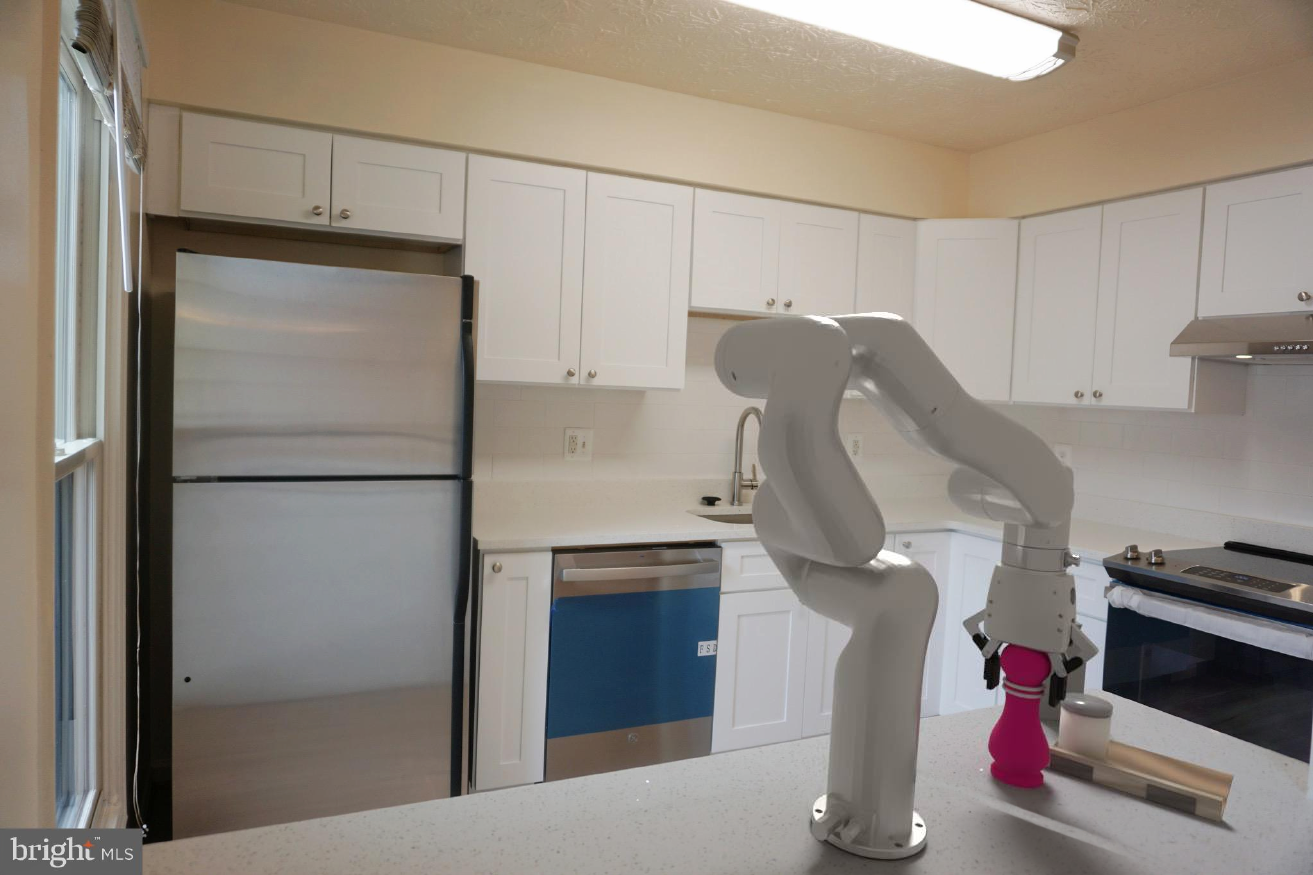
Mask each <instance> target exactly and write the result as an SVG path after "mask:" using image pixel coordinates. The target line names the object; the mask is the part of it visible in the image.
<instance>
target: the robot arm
mask: <svg viewBox="0 0 1313 875" xmlns="http://www.w3.org/2000/svg"><path fill="white" fill-rule="evenodd" d="M713 364H714V370H715V373H716V375H717V379H719V381H720V383H721V384H722V385H723V387H724V388H726V389H727V390H728V391H730V392H731V393H732V394H734V395H736V396H739V397H742V398H746V399H755V400H757V399H759V400H766V403H765V406H764V409H763V414H762V417H761V422H760V426H759V431H758V435H757V436H758V438H757V458H758V462H759V464H760V465H759V466H760V467H761V469H762V472H763V473H764V476H765V477H766V478H765V479H764V480H763V481H762V482H761V483H760V484H759V486H758V487H757V489H756V491H755V493H754V496H753V500H752V504H751V505H752V506H751V517H752V518H751V519H752V524H753V529H754V532H755V535H756V537H757V539H758V541H759V542H760V544H761V546H762V548H763V549H764V551H765V552H766V554H767V555H768V557H769V558H770V559H771V561H772V563H773V564H774V565H775V568H776V569H777V570H778V572H779V573H780V575H781V577H783V579H784V580H785V582H786V583H787V585H788V586H789V589H791V591H792V593H794V595H795V596H796V598H797V599H799V601H800V602H801V603H802V604H803V605H804V606H805V607H806V608H808V609H809V611H813V612H814V613H816V614H818V615H820V616H822V617H825V618H827V619H829V620H832V621H834V622H837V623H839V624H842V625H844V626H845V627H847V628H850V629H851V636H850V638H849V640H848V641H847V643H846V644H845V646H844V647H843V649H842V650H841V652H840V654H839V656H838V657H837V660H836V664H835V667H834V674H833V683H832V684H833V685H832V686H833V688H832V690H833V691H832V692H833V693H832V705H831V706H832V707H831V708H832V709H831V719H830V720H831V722H830V736H829V739H830V740H829V752H828V764H827V765H828V768H827V785H826V794H823V795H821V796H820V797H818V798H817V799H816V800H815V802H814V803H813V804H812V807H811V815H810V816H811V823H812V824H811V830H810V831H811V833H812V835H813V836H814V838H815V839H817V840H819V841H825V840H826V841H827V842H829V843H830V844H832V845H834V846H836V847H837V848H839V849H841V850H844V851H846V852H848V853H851V854H854V855H858V856H861V857H865V858H866V857H867V858H871V859H879V860H896V859H897V860H898V859H902V858H907V857H911V856H913V855H915V854H917V853H919V852H920V851H921V850H922V849H923V848H925V845H926V843H927V835H928V828H927V825H926V823H925V822H924V820H923V818H922V817H921V816H920V815H919V813H917V812H916V811H915V810H914V809H915V808H914V807H915V805H914V804H915V796H916V795H915V793H916V782H917V781H916V779H917V766H918V752H919V751H918V750H919V740H920V738H919V737H920V726H921V713H922V699H923V698H922V695H923V682H924V673H925V672H924V670H925V664H926V658H927V657H926V656H927V651H928V646H929V642H930V639H931V634H932V632H933V628H934V624H935V622H936V618H937V615H938V610H939V603H940V599H939V598H940V596H939V589H938V585H937V582H936V580H935V578H934V576H933V575H932V574H931V573H930V571H929V570H928V569H927V568H926V567H925V566H924V565H922V564H921V563H919V562H918V561H917V560H915V559H913V558H911V557H909V556H906V555H904V554H901V553H898V552H895V551H890V550H886V549H883V548H884V544H885V542H886V534H887V533H886V531H887V530H886V529H887V528H886V525H885V520H884V517H883V515H882V513H881V510H880V508H879V505H878V503H877V502H876V500H875V498H874V497H873V495H872V492H871V491H870V489H869V488H868V486H867V485H866V482H865V481H864V480H863V478H862V476H861V474H860V472H859V471H858V469H857V468H856V466H855V463H854V462H853V460H852V459H851V457H850V456H849V453H848V452H847V450H846V447H845V445H844V443H843V441H842V439H841V435H840V432H839V417H840V411H841V406H842V403H843V398H844V395H845V391H847V390H848V391H857V392H859V393H860V394H862V395H863V396H864V397H865V398H866V399H867V400H868V401H869V402H870V403H871V405H873V407H875V408H876V409H877V411H879V413H880V414H881V415H882V416H883V417H884V418H885V419H886V420H887V421H888V423H889V424H890V425H891V426H892V428H894V429H895V430H896V431H897V433H898V434H899V435H900V436H901V437H902V438H903V439H904V441H906V443H908V444H909V445H911V446H912V447H914V448H915V449H917V450H919V451H921V452H924V453H925V454H927V455H929V456H932V457H935V458H937V459H939V460H942V461H945V462H948V463H951V464H954V465H956V466H955V467H954V469H952V471H951V473H950V475H949V477H948V480H947V485H946V486H947V487H946V488H947V494H948V497H949V500H950V502H951V503H952V505H954V507H955V508H957V509H958V510H959V511H961V512H962V513H964V514H965V515H969V516H970V517H971V516H972V517H975V518H980V519H984V520H989V521H993V522H994V521H995V522H1002V523H1003V532H1002V533H1003V534H1002V545H1001V556H1000V561H998V562H997V563H995V565H994V568H993V572H992V575H991V579H990V582H989V587H988V592H987V596H986V603H985V608H983V609H982V610H980V611H978V612H976V613H975V614H972V615H971V616H970V617H968V618H966V619H964V620H963V622H962V625H963V627H964V628H965V630H966V632H967V634H969V636H971V637H970V638H971V640H972V642H973V643H974V645H976V647H977V649H979V651H980V652H981V655H982V657H983V659H984V663H983V664H984V665H983V676H982V677H983V680H984V681H986V685H985V690H989V691H992V690H994V689H995V688H997V687H998V686H999V685H1000V680H1001V679H1000V678H1001V670H1002V668H1001V665H1000V656H1001V654H999V650H1000V649H1001V647H1002V646H1003V644H1007V645H1008V644H1011V645H1015V646H1019V647H1023V648H1028V649H1032V650H1036V651H1041V652H1045V653H1048V655H1049V657H1050V660H1051V662H1052V665H1053V667H1054V669H1055V670H1054V673H1053V674H1052V675H1051V678H1050V690H1049V702H1048V705H1050V707H1054V708H1055V707H1056V706H1057V705H1058V704H1059V703H1060V701H1061V700H1062V701H1064V700H1065V698H1066V689H1067V677H1068V674H1069V673H1071V672H1072V671H1074V670H1076V669H1077V668H1079V667H1081V666H1082V665H1083V664H1085V663H1086V664H1087V663H1088V662H1089V661H1090V660H1092V659H1093V658H1094V657H1095V656H1097V655H1098V654H1099V653H1100V652H1099V651H1100V650H1099V648H1098V647H1097V646H1096V644H1094V643H1093V642H1092V641H1091V639H1090V638H1089V637H1088V636H1087V635H1086V634H1085V633H1084V632H1083V631H1082V629H1081V630H1080V629H1079V628H1078V627H1077V626H1076V621H1077V591H1076V583H1075V576H1074V573H1073V572H1071V571H1068V570H1067V569H1069V568H1070V567H1080V564H1081V556H1080V555H1075V554H1074V553H1072V552H1071V551H1070V550H1071V548H1070V547H1069V545H1070V544H1069V542H1070V532H1071V531H1070V530H1071V520H1072V519H1071V518H1072V511H1073V508H1074V503H1075V489H1074V482H1075V481H1074V479H1075V475H1074V471H1073V469H1072V467H1071V466H1070V465H1068V464H1066V463H1063V462H1061V460H1060V459H1059V458H1058V456H1057V455H1056V454H1055V452H1054V451H1053V450H1052V449H1051V448H1050V446H1049V445H1048V444H1047V443H1046V442H1045V441H1044V440H1043V439H1042V438H1041V437H1040V436H1039V435H1037V434H1036V433H1035V432H1033V431H1032V430H1030V428H1028V427H1026V426H1024V425H1023V424H1021V423H1020V422H1018V421H1016V420H1015V419H1013V418H1011V417H1009V416H1007V415H1005V414H1004V413H1003V412H1001V411H999V410H997V409H996V408H994V407H993V406H991V405H989V404H988V403H986V402H984V401H982V400H980V399H978V398H976V397H974V396H972V395H970V394H969V393H968V391H966V390H965V389H964V388H963V386H962V385H961V384H960V382H959V381H958V380H957V379H956V377H955V376H954V375H953V374H952V373H951V372H950V369H948V368H947V366H946V365H945V364H944V363H943V362H942V361H941V359H940V358H939V357H938V356H937V355H936V353H935V352H934V351H933V350H932V348H931V347H930V345H928V343H927V342H926V341H925V340H924V338H923V337H922V336H921V334H920V333H919V332H918V331H917V330H916V329H915V328H914V327H913V325H912V324H911V323H910V322H908V320H907V319H904V318H903V317H901V316H899V315H897V314H893V313H889V312H867V313H866V312H865V313H855V314H844V315H843V314H842V315H831V316H824V317H823V316H817V315H793V316H791V315H790V316H780V317H772V318H762V319H750V320H744V321H743V320H742V321H741V322H738V323H735V324H733V325H732V326H730V327H729V328H728V329H727V330H726V331H725V332H724V333H723V334H722V335H721V337H720V338H719V340H718V342H717V344H716V346H715V349H714V355H713ZM982 622H983V631H982V630H981V628H980V626H979V625H980V624H981V623H982ZM1074 643H1076V644H1077V645H1078V646H1079V647H1080V649H1081V652H1080V653H1079V654H1078V655H1076V656H1074V657H1073V658H1071V659H1068V657H1067V654H1066V650H1067V648H1069V647H1072V646H1073V645H1074Z"/></svg>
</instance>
